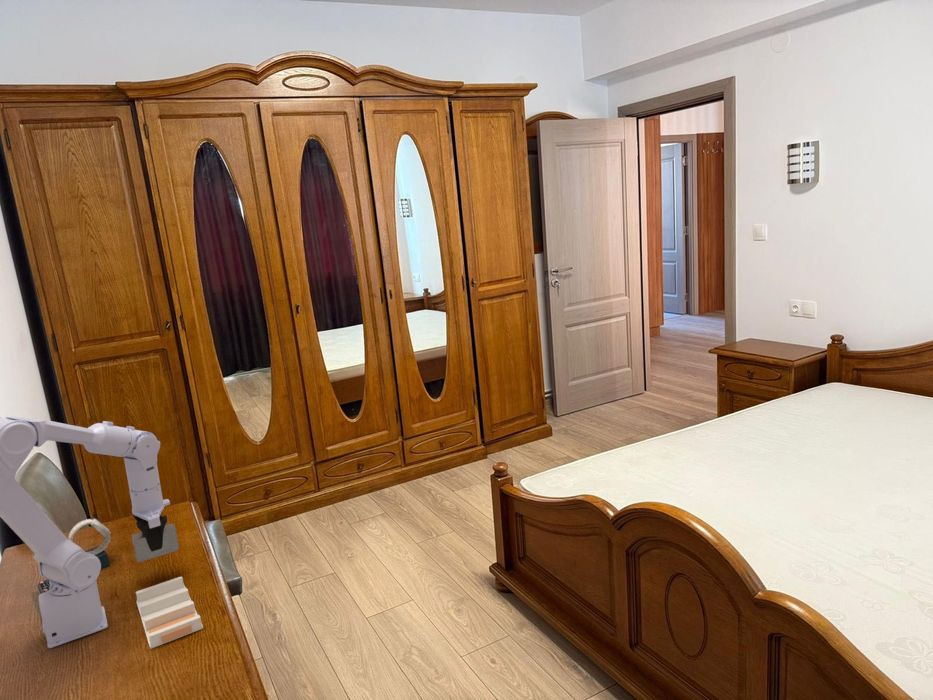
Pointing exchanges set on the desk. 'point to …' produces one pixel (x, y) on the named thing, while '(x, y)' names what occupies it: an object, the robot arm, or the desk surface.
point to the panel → (145, 553)
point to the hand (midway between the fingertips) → (155, 546)
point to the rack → (167, 612)
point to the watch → (98, 550)
